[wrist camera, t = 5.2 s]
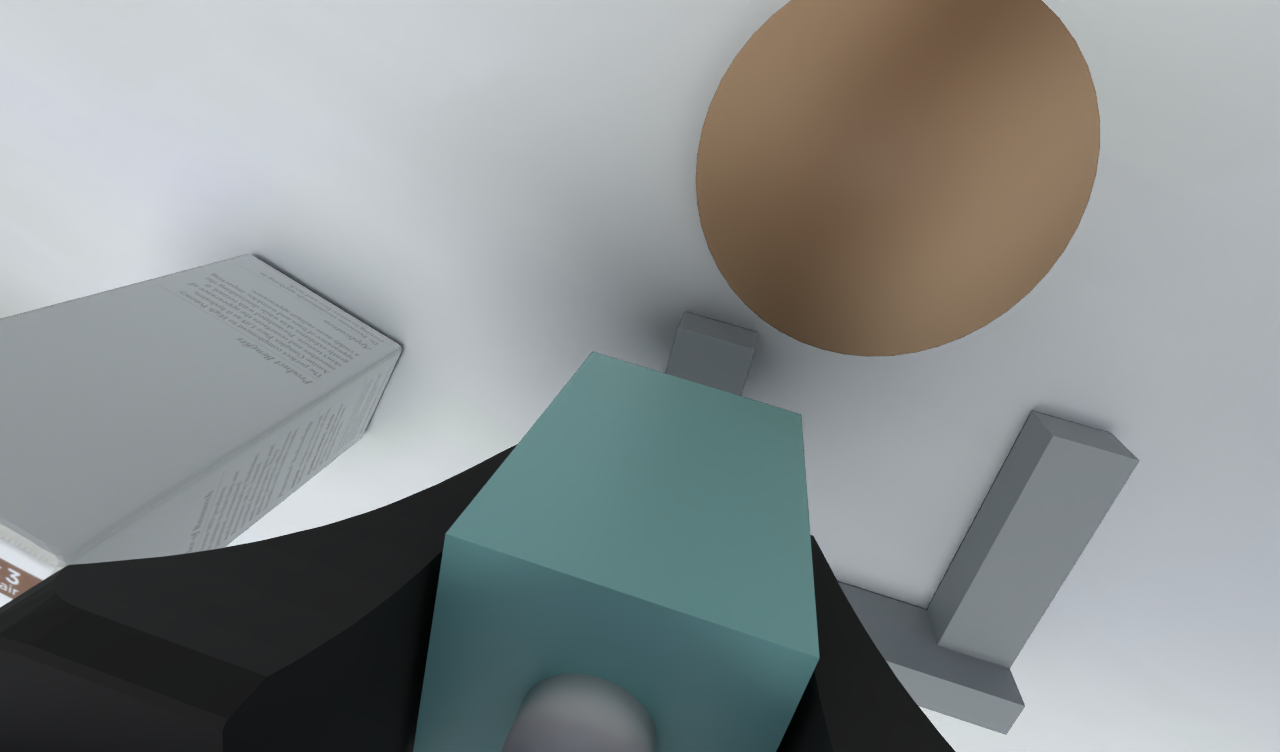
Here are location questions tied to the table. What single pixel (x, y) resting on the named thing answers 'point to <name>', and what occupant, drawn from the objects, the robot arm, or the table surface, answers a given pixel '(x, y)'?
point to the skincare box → (172, 414)
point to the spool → (896, 167)
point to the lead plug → (628, 578)
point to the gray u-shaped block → (967, 548)
